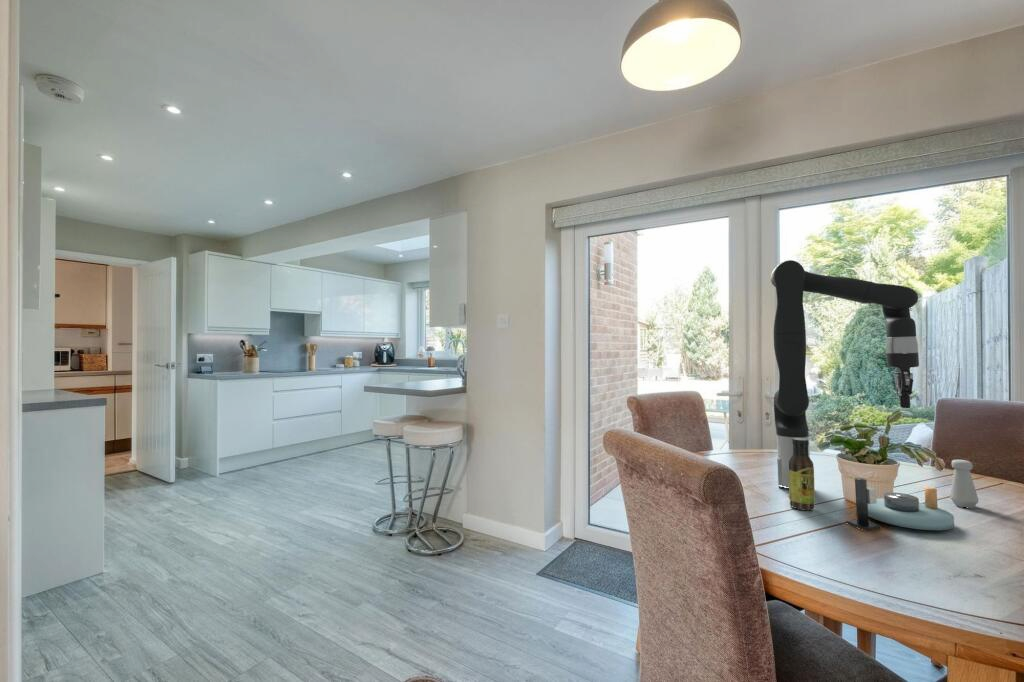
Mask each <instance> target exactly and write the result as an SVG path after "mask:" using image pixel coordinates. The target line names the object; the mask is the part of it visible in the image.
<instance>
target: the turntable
mask: <svg viewBox="0 0 1024 682" xmlns="http://www.w3.org/2000/svg"><path fill="white" fill-rule="evenodd" d="M923 489H924V503H922V502H919V512H901V511H896V510H892V509H889V508H887V507H885V506H884V497H883V498H880V497H879V498H878V497H877V498H876V499H877V503H876V504H868V518H869V517H870V518H872V519H874V520H877V521H878V522H879V521H880V522H882V523H885V524H889V525H893V526H897V527H903V528H908V529H914V530H915V529H916V530H922V531H944V530H945V531H946V530H951V529H953V528H954V527H955V517H954V514H952V513H951V512H949V511H947V510H945V509H943V508H940V507H939V506H938V492H937V490H938V489H937V488H935V487H930V486H924V487H923Z"/></svg>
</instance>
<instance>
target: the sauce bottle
mask: <svg viewBox="0 0 1024 682" xmlns="http://www.w3.org/2000/svg"><path fill="white" fill-rule="evenodd" d="M792 443H793V456H792V457H791V459H790V460H789V489H788V495H789V496H788V497H789V498H788V499H789V505H791V506H793V507H792V508H794V507H796V508H799V509H798V510H801V509H804V510H803V511H813V510H815V508H816V507H815V502H816V494H815V492H816V491H815V466H814V462H813V461H812V459H811V456H810V457H809V456H808V454H809V453H808V445H809V446H810V439H809V440H808V439H804V438H793V439H792ZM791 506H790V507H791ZM796 508H795V509H796ZM812 509H813V510H812Z"/></svg>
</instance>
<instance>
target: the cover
mask: <svg viewBox="0 0 1024 682" xmlns="http://www.w3.org/2000/svg"><path fill="white" fill-rule="evenodd" d="M883 498H884V506H885V507H887V508H889V509H892V510H896V511H901V512H919V503H920V502H919V497H918V496H914V495H911V494H907V493H901V492H885V493H883Z"/></svg>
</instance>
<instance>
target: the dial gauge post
mask: <svg viewBox="0 0 1024 682" xmlns="http://www.w3.org/2000/svg"><path fill="white" fill-rule="evenodd" d="M867 483H868V482H867V478H863V477H862V478H861V477H855V478H854V490H855V491H854V492H855V509H856V519H849V520H848V519H846V520H845V524H846V523H848V524H850V525H849V526H851V525H852V526H851V527H853V526H855V527H854V528H856V527H858V528H860V529H859V530H861V529H863V530H867V531H873V530H872V529H876V530H881V529H882V527H881V525H880V524H877V523H874V522H872V521H869V516H868V504H876V503H877V499H878V498H877V489H876V488H873V487H870V486H868V484H867ZM848 524H847V525H848ZM858 528H857V529H858ZM863 530H862V531H863Z"/></svg>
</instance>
